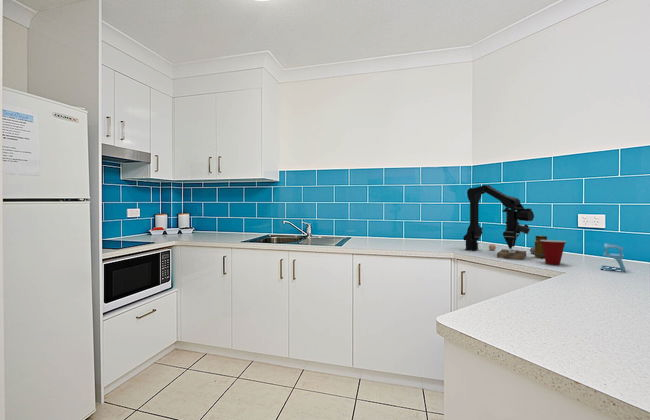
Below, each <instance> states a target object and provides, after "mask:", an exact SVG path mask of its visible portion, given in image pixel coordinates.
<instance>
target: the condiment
mask: <svg viewBox="0 0 650 420" xmlns="http://www.w3.org/2000/svg"><path fill="white" fill-rule="evenodd" d="M540 240H548V236H546V235H535V239H534V247H535V254H534V256H532V258H534V259H535V258H536V259H543V260H545V257H544V253H543V247H542V244H541V241H540Z"/></svg>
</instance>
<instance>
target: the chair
mask: <svg viewBox="0 0 650 420" xmlns="http://www.w3.org/2000/svg"><path fill="white" fill-rule="evenodd" d="M603 245H604V246H603V247H604V252H603V257H605V258H611V259H613V260H615V261H616V262H617V263H618V265H619V267H617V266H616V267H615V266H611V265H609V266H608V265H601V264H600V270H601V269H605V270H604V271H607V270H621V271H620V272H622V271H626V272H627V270H626V266H625V265H624V262H623V259H624V254H623V251H624V247H623V246H620V245H617V244H615V243H607V242H606V243H604V244H603ZM608 249H616V250H618V253H610V252H608ZM603 267H609V268H603ZM612 268H616V269H612Z"/></svg>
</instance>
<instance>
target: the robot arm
mask: <svg viewBox="0 0 650 420" xmlns="http://www.w3.org/2000/svg"><path fill="white" fill-rule="evenodd" d="M485 193H486V194H487V195H489V196H491V197H492V198H494V199H496V200H498V201H499V202H501V205H503V206H504V207H505V208H504V209H503V210H502V211H501V212H502V213H503V212H504V213H506V215H505V219H506V221H505V230H504V231H503V232H502V237H503V239H504V241H505V242H506V244H507V246H508V250H511V249H513V248H514V247H515V246H516V242H517V239H518V237H519V236H521V233H523V234H524V235H525V234H526V235H528V234H529V233H530V231H531V228H530V227H529V225H528V224H524V225H523V224H520V222H519V221H521V222H532V221H534V218H535V214H534V212H533V210H532V208H525V207H524V206H523V205H522V203H521V201H520V199H519V198H517V197H514V196H511V195H507V194H505V193H503V192H501V191H500V190H498V189H496V188H494V187H493V186H491V185H490V184H483V185H480V186H477V187H476V186H475V187H470V188H468V189H467V190H466V196H467V199H468V201H469V225H468V227H467V230H466V234H464V236H463V237H462V239H463V241H465V249H464V250H466V251H472V252H473V251H477V250H479V242H478V241H479V240H480V239H481V237H482V234H483V227H481V226H480V225H479V215H480V214H479V210H480V209H479V208H480V207H479V205H480V204H479V203H480V200H481V199H482V195H484V194H485Z"/></svg>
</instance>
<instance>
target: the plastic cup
mask: <svg viewBox="0 0 650 420" xmlns="http://www.w3.org/2000/svg"><path fill="white" fill-rule="evenodd" d="M540 241H541V244H542V247H543V253H544V257H545V259H544V261H545V264H547V265H553V266H554V265H555V266H559V265H560V264H561V261H562V258H563V252H564V248H565V245H566V243H567V240H556V239H555V240H554V239H547V240H540Z"/></svg>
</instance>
